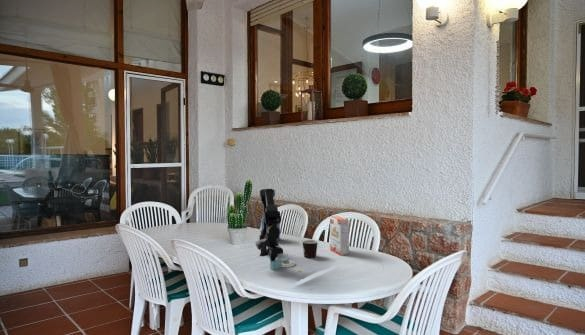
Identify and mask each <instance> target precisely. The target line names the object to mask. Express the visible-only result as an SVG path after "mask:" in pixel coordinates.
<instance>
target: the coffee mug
mask: <svg viewBox="0 0 585 335" xmlns="http://www.w3.org/2000/svg"><path fill="white" fill-rule="evenodd" d="M318 243H319V242H318V240H315V239H304V240H303V241H302V250H303V257H304V258H305V259H316V257H317V250H318Z"/></svg>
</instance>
